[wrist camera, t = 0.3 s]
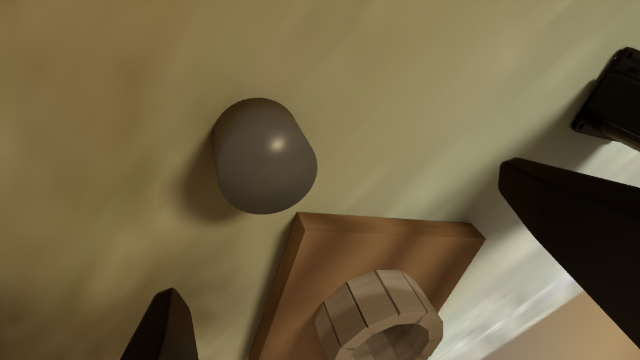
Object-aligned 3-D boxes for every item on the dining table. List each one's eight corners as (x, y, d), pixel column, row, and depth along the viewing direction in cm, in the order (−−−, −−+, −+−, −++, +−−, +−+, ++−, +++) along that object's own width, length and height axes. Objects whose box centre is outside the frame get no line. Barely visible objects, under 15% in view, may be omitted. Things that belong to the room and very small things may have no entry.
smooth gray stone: (307, 106, 22) (329, 137, 19) (285, 178, 24) (301, 217, 21) (220, 89, 20) (228, 121, 17) (205, 170, 22) (210, 211, 19)
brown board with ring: (471, 223, 33) (521, 274, 28) (398, 342, 40) (427, 399, 35) (297, 211, 26) (324, 276, 21) (248, 357, 33) (260, 429, 29)
